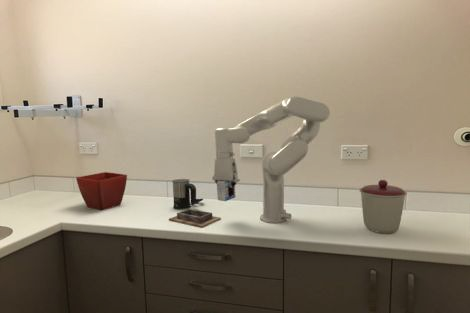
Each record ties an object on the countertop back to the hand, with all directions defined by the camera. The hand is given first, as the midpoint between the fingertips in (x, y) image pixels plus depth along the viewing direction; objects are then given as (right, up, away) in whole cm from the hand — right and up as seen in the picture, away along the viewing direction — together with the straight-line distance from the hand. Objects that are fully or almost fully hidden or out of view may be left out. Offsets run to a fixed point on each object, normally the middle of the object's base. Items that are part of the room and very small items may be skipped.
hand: (226, 194), depth 154 cm
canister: (+65, -13, -11) cm, 68 cm away
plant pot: (-68, -10, +32) cm, 76 cm away
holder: (-15, -12, +5) cm, 20 cm away
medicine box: (0, -2, 0) cm, 2 cm away
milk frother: (-21, -10, +30) cm, 38 cm away
